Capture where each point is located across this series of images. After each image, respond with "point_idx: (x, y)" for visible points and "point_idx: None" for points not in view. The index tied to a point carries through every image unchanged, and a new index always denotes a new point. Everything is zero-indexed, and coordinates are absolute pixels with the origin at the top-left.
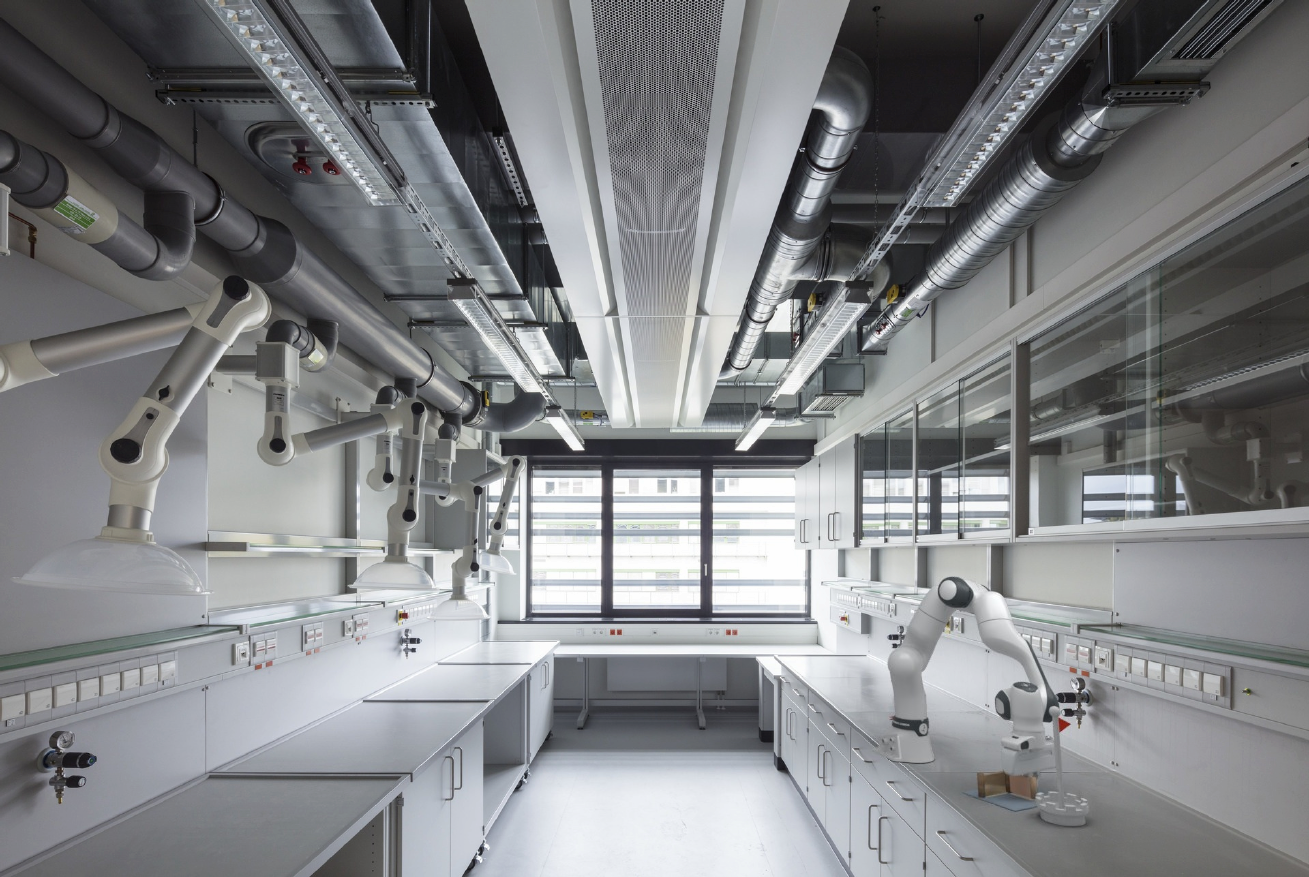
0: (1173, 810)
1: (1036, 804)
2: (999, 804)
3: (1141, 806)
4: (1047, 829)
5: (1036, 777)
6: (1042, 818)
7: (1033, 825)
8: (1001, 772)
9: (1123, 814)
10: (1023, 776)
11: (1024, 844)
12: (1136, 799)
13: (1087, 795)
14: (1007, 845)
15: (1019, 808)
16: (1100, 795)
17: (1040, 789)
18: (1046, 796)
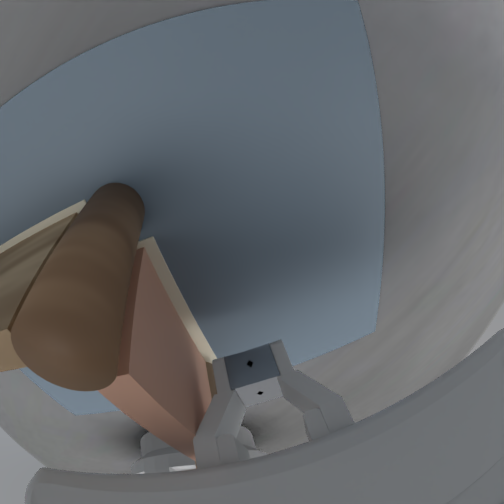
0: (455, 359)
1: (131, 469)
2: (29, 373)
3: (446, 350)
4: (126, 462)
5: (300, 405)
6: (140, 442)
7: (103, 453)
8: (9, 366)
9: (368, 402)
10: (181, 444)
11: (70, 470)
12: (482, 308)
13: (452, 281)
14: (47, 465)
15: (93, 407)
16: (470, 281)
17: (380, 193)
18: (191, 465)
